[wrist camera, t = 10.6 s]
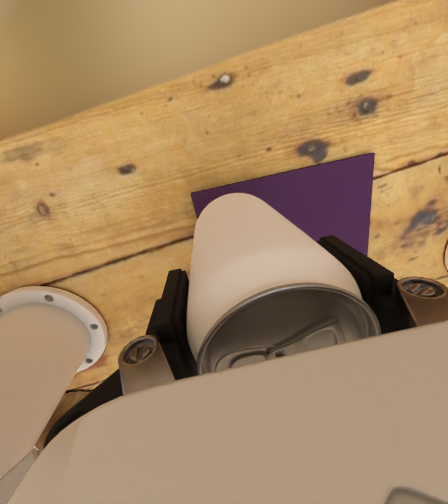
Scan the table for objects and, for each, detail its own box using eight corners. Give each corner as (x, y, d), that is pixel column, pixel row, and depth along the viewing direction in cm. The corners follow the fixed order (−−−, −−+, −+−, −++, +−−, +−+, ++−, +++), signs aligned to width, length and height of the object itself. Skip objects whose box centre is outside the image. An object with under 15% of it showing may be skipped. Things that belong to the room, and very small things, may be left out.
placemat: (216, 293, 27) (217, 295, 26) (191, 192, 22) (190, 193, 21) (363, 260, 27) (366, 262, 26) (370, 152, 22) (374, 152, 21)
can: (179, 213, 17) (135, 330, 6) (260, 176, 16) (386, 227, 5) (215, 281, 19) (232, 450, 8) (285, 251, 19) (404, 390, 8)
